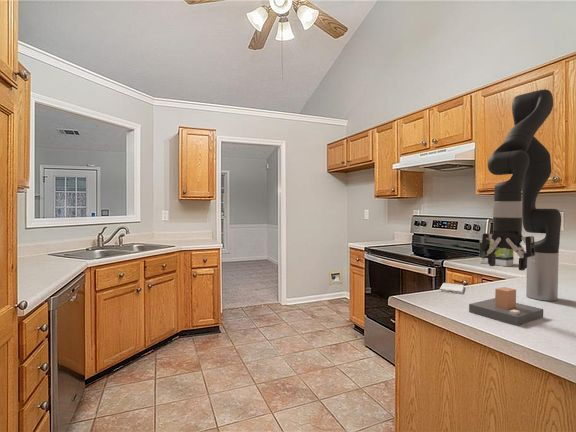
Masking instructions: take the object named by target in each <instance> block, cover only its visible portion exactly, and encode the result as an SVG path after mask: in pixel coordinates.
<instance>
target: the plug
mask: <svg viewBox="0 0 576 432" xmlns="http://www.w3.org/2000/svg"><path fill="white" fill-rule="evenodd" d="M494 292H495V294H494V296H495V297H494V298H495V306H496V307H500V308H504V309H510V308H514V307H516V303H517V289H515V288H511V287H506V286H502V287H498V288H495V291H494Z"/></svg>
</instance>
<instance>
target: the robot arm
mask: <svg viewBox="0 0 576 432" xmlns="http://www.w3.org/2000/svg"><path fill="white" fill-rule="evenodd" d="M553 108H554V98H553V93H552V92H551V91H550V90H549V89H546V88H545V89H539V90H535V91H530V92H527V93H523V94H519V95H518V94H517V95H516V96H514V97H513V100H512V102H511V112H512V119H513V124H514V126H513V127H512V128H511V129H510V130H509V132H508V133H507V135H506V137H505V139H504V142H503V143H501V145H499V146H498V147H497V148H496V149H495V150H494V151H493V152H492V153H491V155H490V156H489V158H488V161H487V170H488V171H489V173H490V174H492V175H493V176H502V175H503V176H505V175H511V176H510V178H509V179H508V180H506V181H501V182H498V183H496V184H495V185H494V189H493V193H494V194H493V196H494V197H493V199H494V201H493V209H492V231H493V232H492V233H489V232H487V233H483V234H482V237H481V239H482V251H483V252H486V253H487V254H488V264H487V265H489V266H490V267H495V266H496V265H495V262H496V254H494V253H495V252H496V251H497V250H498V249H499V248H506V249H513V252H514V253H516V254H517V256H519V258H518V271H522V272H523V271H526V283H525V284H526V286H525V287H526V290H525V291H526V292H525V294H526V295H525V296H526V297H528V298H530V299H534V300H538V301H539V300H540V301H548V302H554V301H555V302H556V301H558V296H559V295H558V294H559V291H558V290H559V253H560V252H559V251H560V245H561V244H560V240H561V238H560V237H561V228H562V215H561V214H562V213H561V212H560V210H559V209H556V208H537V207H536V203H537V197H538V195H539V193H540V192H541V190H542V188H543V187H544V186H545V185H546V183H547V182H548V180H549V179H550V176H551V174H552V162H551V161H552V160H551V153H550V152H549V150H548V149H547V148H546V147H545V146H544V145H543V143H542V142H540V141H539V140H538V139H537V138H536V137H535V135H536V133H537V132H538V131H539V129H540V128H541V126H542V125H543V124H544V123H545V121H546V120H547V119H548V118H549V116H550V115H551V113H552V110H553ZM523 229H524V231H525V232H527V233H531V234H532V233H533V234H545V237H544V238H542V239H540V240H537V241H535V237H534V235H533V236H532V235H531V236H530V235H529V236H523V234H522V232H523ZM491 239H493V240H494V243H493V244H492V245H491V248H490V240H491ZM522 241H523V243H524V244H525V248H524V247H523V245H522V244H521V243H522ZM489 248H490V249H489Z"/></svg>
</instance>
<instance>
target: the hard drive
mask: <svg viewBox="0 0 576 432" xmlns="http://www.w3.org/2000/svg"><path fill="white" fill-rule="evenodd" d="M446 289H447V290H446ZM439 290H441V291H443V292H442V293H444V292H445V293H449V292H451V294H457V293H459V294H458V295H463V293H464V290H465V285H464V284H459V283H458V284H457V283H450V282H443V283H442V285H441V286H440V287H439ZM441 291H440V292H441Z"/></svg>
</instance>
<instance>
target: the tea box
mask: <svg viewBox="0 0 576 432" xmlns="http://www.w3.org/2000/svg"><path fill="white" fill-rule="evenodd" d="M493 243H494V240H493V239H491V240H490V248H491V245H492V244H493ZM490 248H489V249H490ZM494 254H496V262H495V266H501V267H510V266H513V265H514V250H513V249H506V248H499V249H498V250H497V251H496V252H495V253H494ZM479 264H484V265H486V264H487V265H489V264H488V254H487V253H486V252H483V251H482V238H481V239H479Z"/></svg>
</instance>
